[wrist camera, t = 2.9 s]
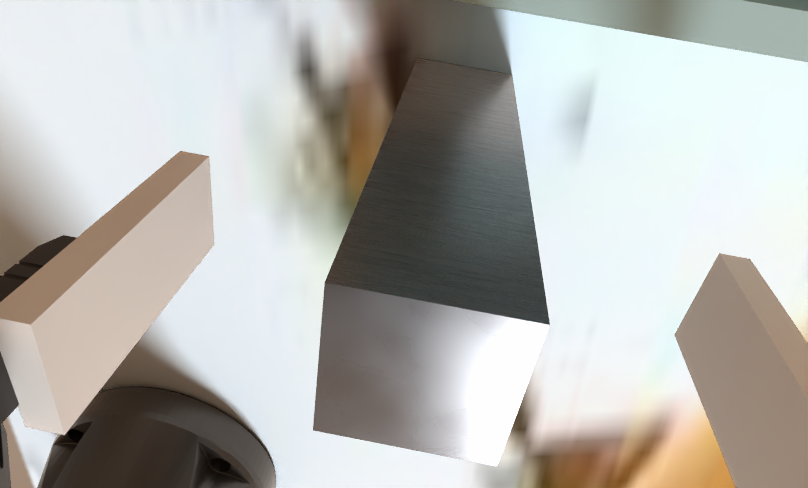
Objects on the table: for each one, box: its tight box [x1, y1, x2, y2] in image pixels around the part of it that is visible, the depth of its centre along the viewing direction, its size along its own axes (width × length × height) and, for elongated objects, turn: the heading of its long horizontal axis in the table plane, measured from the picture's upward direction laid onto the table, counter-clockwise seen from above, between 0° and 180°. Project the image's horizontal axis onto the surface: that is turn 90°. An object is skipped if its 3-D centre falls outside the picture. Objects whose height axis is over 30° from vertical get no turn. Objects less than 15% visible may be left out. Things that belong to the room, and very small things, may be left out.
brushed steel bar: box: [313, 58, 550, 466], centre depth 18 cm, size 4×4×16 cm
